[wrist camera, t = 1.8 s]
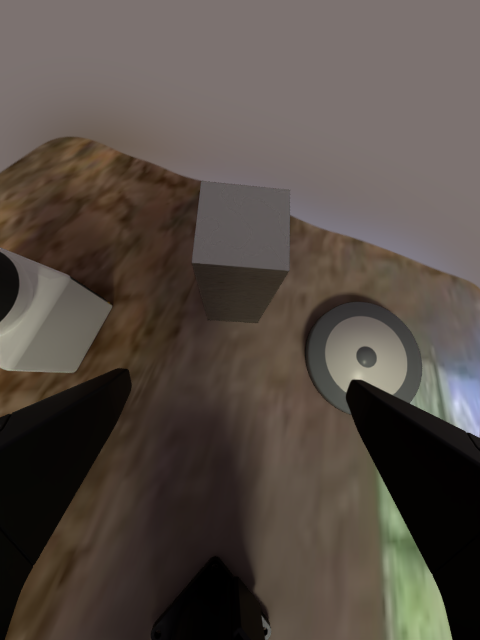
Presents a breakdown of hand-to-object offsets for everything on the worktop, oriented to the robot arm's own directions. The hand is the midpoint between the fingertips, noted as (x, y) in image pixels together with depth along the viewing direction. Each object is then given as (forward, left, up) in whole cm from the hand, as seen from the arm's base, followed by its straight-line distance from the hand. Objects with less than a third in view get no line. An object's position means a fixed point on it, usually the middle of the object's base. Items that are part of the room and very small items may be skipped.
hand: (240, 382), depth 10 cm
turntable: (+11, -7, -13) cm, 18 cm away
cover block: (+6, +6, -13) cm, 15 cm away
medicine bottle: (-8, +15, -13) cm, 22 cm away
